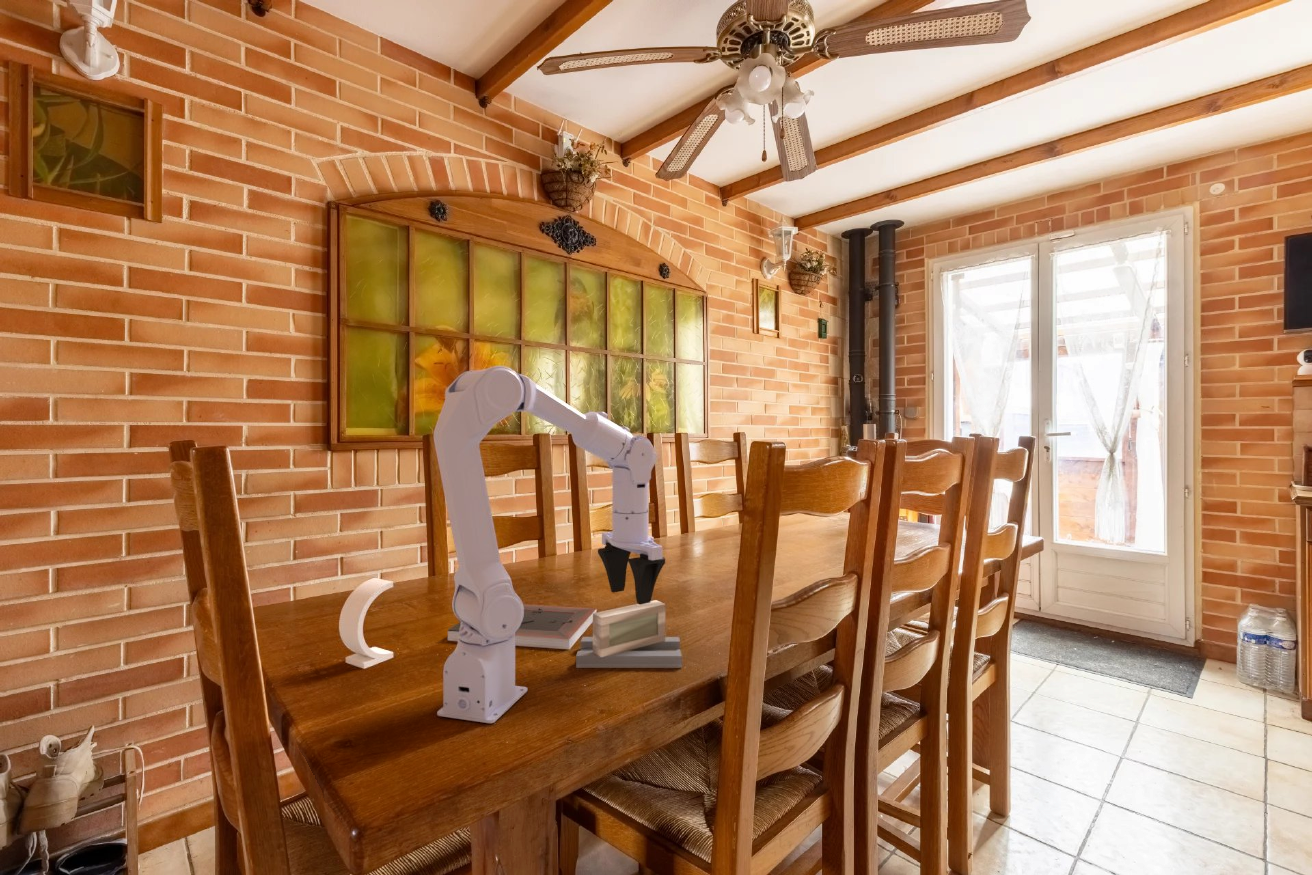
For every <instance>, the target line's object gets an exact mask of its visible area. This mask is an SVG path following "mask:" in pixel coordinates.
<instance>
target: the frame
mask: <svg viewBox="0 0 1312 875" xmlns="http://www.w3.org/2000/svg"><path fill="white" fill-rule="evenodd" d="M592 637H593V652H594V653H595V654H597V655H598V656H600V657H605V656H608V655H612V654H616V653H620V652H624V651H628V650H631V649H635V648H639V647H643V646H647V645H651V644H654V643H658V642H662V641H665V637H666V603H664V602H662V601H659V600H657V599H655V600H651V602H650V603H645V604H641V605H640V604H637V603H636V604H631V605H626V606H621V607H616V608H612V609H608V610H602V611H598V612H596V613H593V622H592Z"/></svg>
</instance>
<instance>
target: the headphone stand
mask: <svg viewBox="0 0 1312 875" xmlns="http://www.w3.org/2000/svg"><path fill="white" fill-rule="evenodd" d="M391 588H394V581H391V580H386V579H381V578H377V577H373V578H371V579H369V580H366V581H364V582H361V584H359V585H358V586H357V587H356V588H355V589H354V590H353V591H352V592H351V593H350V594H349V596H348V597H347V599H346V600H345V602H344V604H343V607H342V609H341V611H340V615H339V620H338V621H339V622H338V631H339V636H340V638H341V641H342V642H343V644H344V646H346V648H347V649H348V650H350V651H351V652H353V653H354V654H351V655H348V656H346V657H345V663H347V664H349V665H351V666H355V667H358V668H360V669H363V670H364V669H368V668H370V667H372V666H375V665H378V664H379V663H382V662H383V663H384V662H385V661H388V660H390V659H392V658H394V652H393V651H392V650H391V651H390V650H386V649H383V648H380V647H377V646H372V647H369V645H368V644H367V643H366V640H365V637H364V630H363V629H364V628H363V627H364V621H365V618H366V614H367V611H368V610H369V607H370V606H371V604H372V603H373V602H374V601H375V599H376V598H378V596H380V595H381V594H382V593H383V592H385V591H387V590H389V589H391Z"/></svg>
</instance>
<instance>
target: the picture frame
mask: <svg viewBox="0 0 1312 875" xmlns="http://www.w3.org/2000/svg"><path fill="white" fill-rule="evenodd" d="M523 606H524V616H523V620H522V623H521V625H520V627H519V628H518V630H517V631H516V632H515V647H516V646H519V647H531V648H532V647H533V648H544V649H545V648H547V649H559V650H571V648H572V647H573V646H574V645H575V643H576V642H577V641H578V640H579V639H580V637H581V636H582V635H583V634H584V633H585V631H587V629H588V628H589V626H591V624H593V613H596V612H597V608H593V607H592V608H591V607H574V606H573V607H572V606H560V605H559V606H555V605H541V604H524V603H523ZM460 626H461V621H459V622H458V623H456V624H455V625H453V626H452V627H450V628H448V630H447V641H452V642H458V639H459V629H460Z"/></svg>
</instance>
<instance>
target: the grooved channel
mask: <svg viewBox="0 0 1312 875" xmlns="http://www.w3.org/2000/svg"><path fill="white" fill-rule="evenodd" d="M680 648H681V639H680V636H679V637H678V636H665V641H662V642H658V643H654V644H651V645H647V646H643V647H639V648H635V649H631V650H628V651H624V652H620V653H616V654H612V655H608V656H605V657H600V656H598V655H597V654H595V653H594V652H593V636H582V637H581V640H580V649H579V650H578V651H577V653H576V655H575V656H576V657H575V663H576V664H575V668H576V669H583V668H584V669H592V668H593V669H615V668H616V669H682V667H683V666H682V665H683V664H682V663H683V661H682V660H683V655H682V650H681V649H680Z"/></svg>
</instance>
